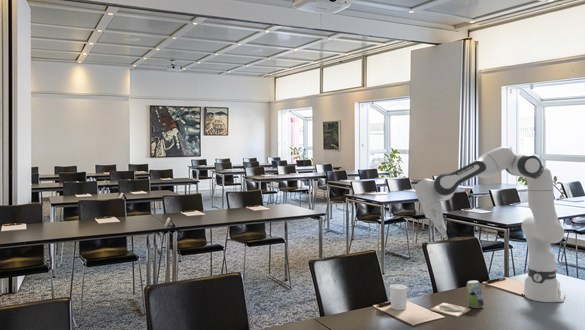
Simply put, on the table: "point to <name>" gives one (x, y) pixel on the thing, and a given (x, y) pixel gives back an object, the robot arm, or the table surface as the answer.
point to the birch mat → (450, 309)
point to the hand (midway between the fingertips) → (445, 238)
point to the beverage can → (475, 294)
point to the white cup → (398, 296)
